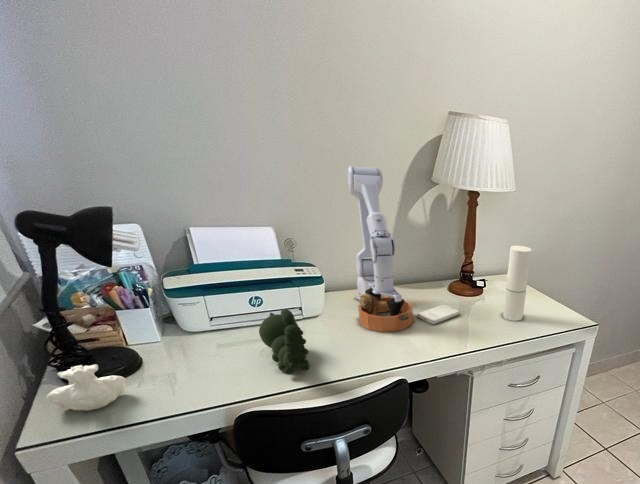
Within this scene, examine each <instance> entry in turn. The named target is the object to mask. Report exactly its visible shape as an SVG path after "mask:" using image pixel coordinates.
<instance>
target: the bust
mask: <svg viewBox="0 0 640 484" xmlns="http://www.w3.org/2000/svg"><path fill="white" fill-rule="evenodd" d="M98 370H99V365H98V364H96V363H95V364H91V365H83V364H79V365H75V366H74V365H73V366H71V367H70V369H69V368H68V369H66V370H65V371H59V372H57V376H58V377H59V378H60V379H65V380H67V381H68V385H64V386H61V387H57V388H55V389H53V390H51V391H50V392H49V393H48V394H47V395H46V399H47V400H48V401H49V402H50V403H53V404H54V405H56V406H58V407H60V408H62V409H70V410H72V411H93V410H98V409H101V408H104V407H106V406H108V405H109V404H110V403H112V402H114V401H115V400H117V398H118V396H120V395H121V394H123V393H124V392H125V390H126V385H127V380H126V378H125V377H124V376H121V375H108V376H102V377H98V376H96V375H95V373H96V372H98Z"/></svg>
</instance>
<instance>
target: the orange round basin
mask: <svg viewBox="0 0 640 484" xmlns="http://www.w3.org/2000/svg"><path fill="white" fill-rule="evenodd" d="M390 300H392V298H390V297H388V296H385V297H381V301H390ZM357 307H358V319H359V324H360V326H362V327H363V328H365V329H367V330H369V331H374V332H381V333H388V332H399V331H401V330H404V329H408V328H409V327H410V325H411V324H412V323H413V321H414V315H413V312H414V311H413V306H412V304H411V302H409V301H407V300H405V302H404V304H403V305H402V307H401V311H402V314H401V313H399V314H400V315H396V316H390V315H387V316H386V315H385V316H382V315H381V316H380V315H377V316H376V315H373V313H372V312H368V311H367V310H366V309H365V308H363V307H362V306H361V305H360V303H359V304H358V305H357ZM388 312H390V310H389V311H388Z"/></svg>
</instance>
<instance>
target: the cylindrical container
mask: <svg viewBox="0 0 640 484" xmlns="http://www.w3.org/2000/svg"><path fill="white" fill-rule="evenodd" d="M531 257H532V248H531V247H528V246H525V245H511V246H510V248H509V256H508V266H507V267H508V268H507V275H506V276H507V277H506V285H505V296H504V304H503V314H502V315H503V316H502V317H503V318H504V319H505V320H508V321H513V322H514V321H515V322H516V321H517V322H518V321H521V320H522V319H523V318H524V310H525V309H524V308H525V302H526V294H527V286H528V279H529V273H530V266H531V265H530V263H531Z"/></svg>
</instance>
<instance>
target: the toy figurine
mask: <svg viewBox="0 0 640 484" xmlns="http://www.w3.org/2000/svg"><path fill="white" fill-rule="evenodd" d="M258 334H259V337H260V339H261V341H262V343H263V344H264V345H265V346H267V347H268V348H269V349H271V351H272V355H271V359H272V361H273V362H275V363H279V364H278V365H277V366H278V367H277V368H278V370H279V371H282V372H283V371H284V374H285V375H287V376H290V375H293V373H294V372H295V371H296V370H300V369H301V371H303V372H307V371H309V370H310V367H311V366H310V361H309V360H308V359H307V355H308V354H309V350H308V349H307V348H306V347H305V345H306V343H307V339H305V338H304V337H303V335H304V331H303V330H302V329H301V328H300V327H299V324H298V323H297V321H296V317H295V316H294V314H293V313H292V311H291V310H290V309H288V308H284V309H281V311H280V314H275V313H273V312H270V313H269V316H267V317H266V318H265V319H264V320H263V321H262V322H261V323H260V326H259V328H258Z"/></svg>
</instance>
